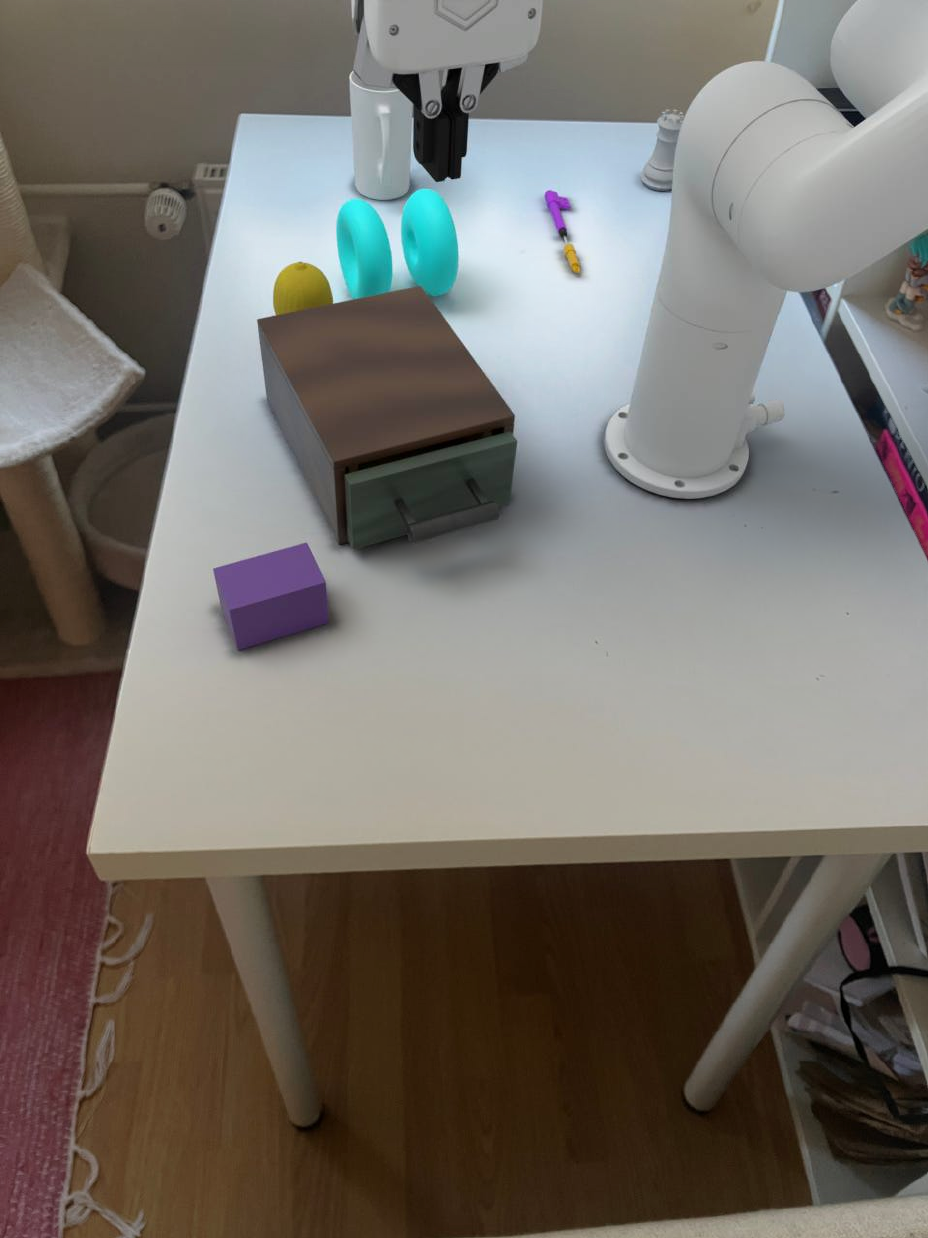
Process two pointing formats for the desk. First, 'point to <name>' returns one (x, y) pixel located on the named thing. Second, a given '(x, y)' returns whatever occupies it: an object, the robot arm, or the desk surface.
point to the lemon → (300, 289)
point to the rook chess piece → (663, 153)
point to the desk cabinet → (371, 387)
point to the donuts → (422, 241)
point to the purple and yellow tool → (562, 225)
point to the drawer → (430, 489)
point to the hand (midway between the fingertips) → (439, 169)
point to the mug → (380, 140)
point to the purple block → (272, 595)
